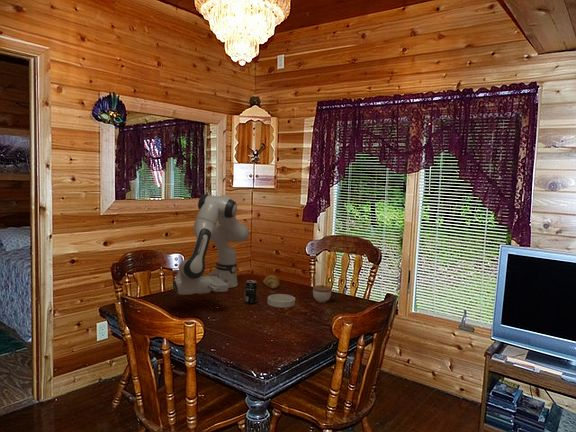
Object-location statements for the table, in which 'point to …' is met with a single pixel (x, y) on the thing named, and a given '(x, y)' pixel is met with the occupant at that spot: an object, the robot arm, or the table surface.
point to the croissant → (271, 281)
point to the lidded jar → (322, 293)
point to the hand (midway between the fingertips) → (230, 282)
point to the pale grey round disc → (281, 300)
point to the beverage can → (250, 291)
